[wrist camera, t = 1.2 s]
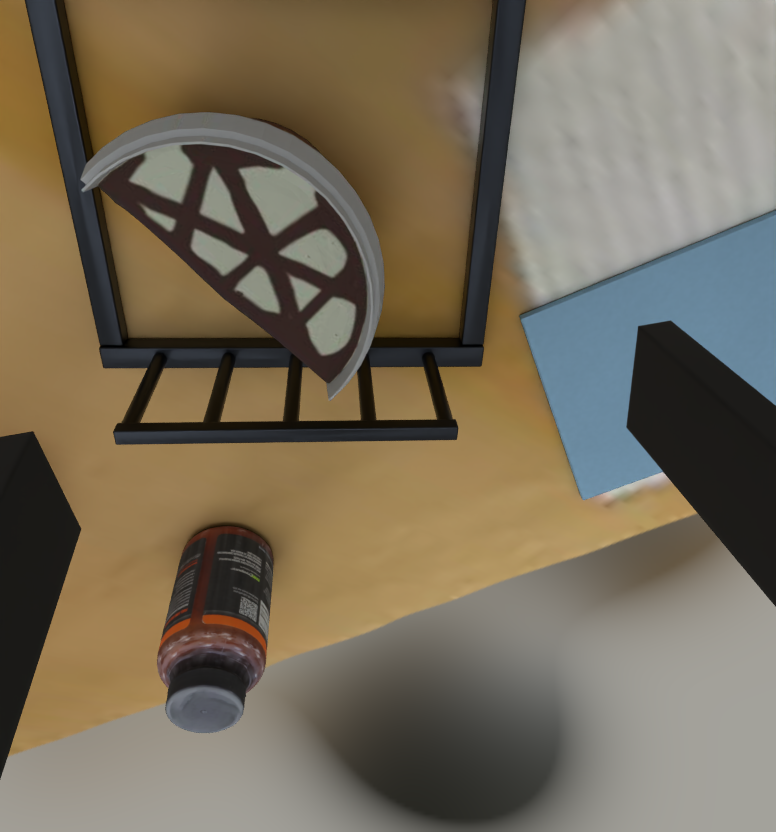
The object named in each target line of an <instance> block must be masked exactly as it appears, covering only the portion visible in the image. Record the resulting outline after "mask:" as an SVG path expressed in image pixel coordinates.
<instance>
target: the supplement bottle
mask: <svg viewBox="0 0 776 832" xmlns="http://www.w3.org/2000/svg"><path fill="white" fill-rule="evenodd" d="M273 561H274V560H273V555H272V551H271V549H270V547H269V546H268V544H267V543H266V542H265V541H264V540H263V539H262V538H261V537H259V536H258V535H257V534H255V533H253V532H251V531H248V530H246V529H243V528H240V527H232V526H221V527H214V528H210V529H207V530H204V531H202V532H200V533H199V534H197V535H195V536H194V537H193V538H192V539H191V540H190V541H189V542H188V543H187V545H186V546H185V548H184V550H183V553H182V557H181V559H180V563H179V567H178V571H177V576H176V580H175V584H174V588H173V593H172V596H171V601H170V605H169V610H168V614H167V618H166V622H165V626H164V630H163V635H162V638H161V643H160V647H159V651H158V659H157V667H158V672H159V675H160V677H161V680H162V681H163V683H164V684H165V685H166V686H167V687H168V688H169V689H168V696H167V701H166V707H165V710H166V714H167V716H168V718H169V719H170V721H171V722H172V723H174V724H175V725H176V726H178V727H180V728H182V729H184V730H187V731H191V732H196V733H213V732H218V731H221V730H225V729H227V728H229V727H231V726H233V725H234V724H236V723H237V722H238V720H239V719H240V718H241V716H242V714H243V710H244V702H245V697H246V693H247V692H249V691H250V690H251V689H252V688H253V687H254V686H255V685H256V684H257V683H258V682H259V680H260V679H261V677H262V675H263V672H264V669H265V664H266V650H267V642H268V629H269V616H270V605H271V592H272V580H273Z"/></svg>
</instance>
